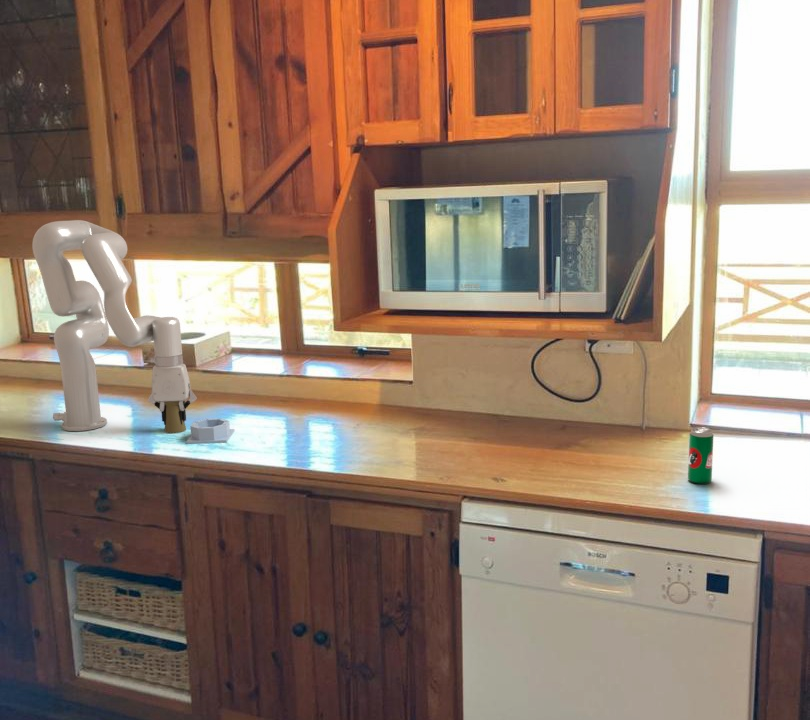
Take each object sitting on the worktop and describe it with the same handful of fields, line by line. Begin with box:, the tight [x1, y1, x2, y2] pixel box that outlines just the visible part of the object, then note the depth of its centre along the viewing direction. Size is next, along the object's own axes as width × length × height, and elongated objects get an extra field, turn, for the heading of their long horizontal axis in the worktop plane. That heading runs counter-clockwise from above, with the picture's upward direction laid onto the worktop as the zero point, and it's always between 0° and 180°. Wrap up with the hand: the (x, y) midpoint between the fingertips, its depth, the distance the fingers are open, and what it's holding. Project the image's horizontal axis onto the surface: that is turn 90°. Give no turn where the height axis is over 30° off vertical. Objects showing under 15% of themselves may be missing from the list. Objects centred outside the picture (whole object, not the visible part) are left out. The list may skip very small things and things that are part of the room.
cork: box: [164, 401, 187, 434], centre depth 245 cm, size 6×6×11 cm
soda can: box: [687, 426, 714, 485], centre depth 191 cm, size 5×5×12 cm
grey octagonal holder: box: [185, 418, 235, 445], centre depth 238 cm, size 11×11×4 cm
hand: (174, 422), depth 246 cm, fingers closed on cork, 3 cm apart
